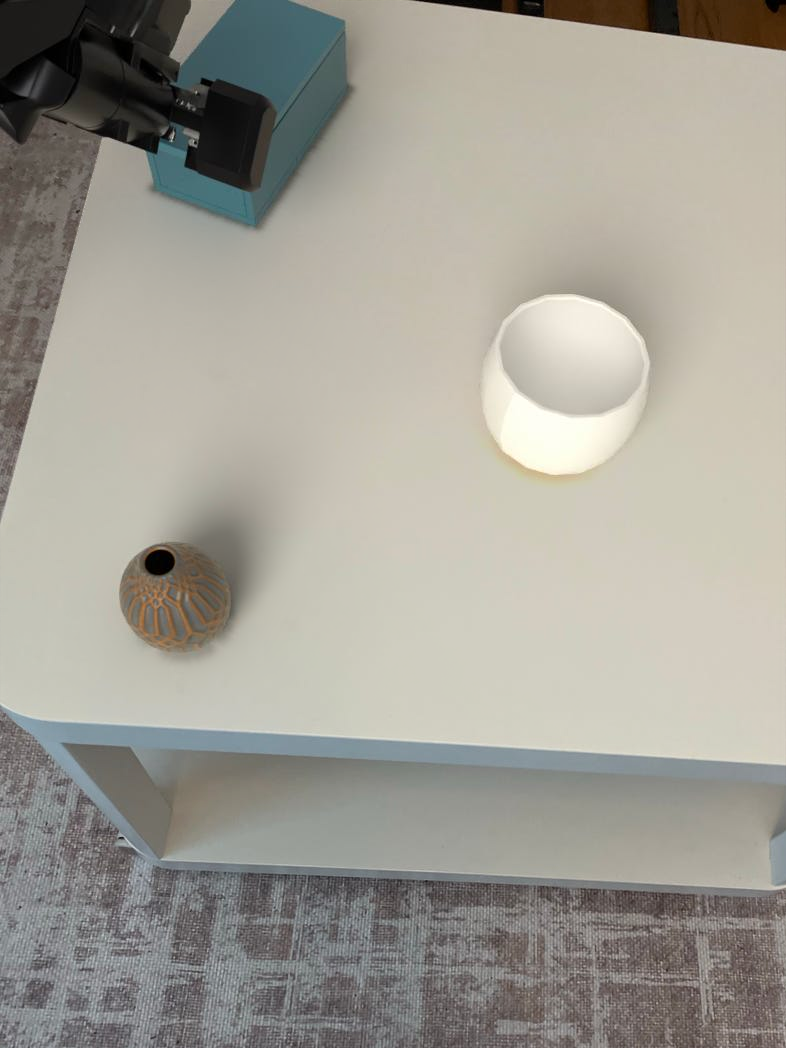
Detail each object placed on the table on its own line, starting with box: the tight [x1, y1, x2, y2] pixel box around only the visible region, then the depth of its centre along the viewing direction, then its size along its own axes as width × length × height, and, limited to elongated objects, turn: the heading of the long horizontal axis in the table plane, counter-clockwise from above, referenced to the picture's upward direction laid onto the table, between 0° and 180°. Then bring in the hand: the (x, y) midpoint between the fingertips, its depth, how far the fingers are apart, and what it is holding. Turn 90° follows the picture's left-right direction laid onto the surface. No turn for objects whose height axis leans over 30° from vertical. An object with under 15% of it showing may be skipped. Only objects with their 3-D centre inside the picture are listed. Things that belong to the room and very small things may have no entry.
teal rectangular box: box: [145, 30, 348, 227], centre depth 79 cm, size 19×9×6 cm, turn 159°
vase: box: [118, 541, 232, 654], centre depth 59 cm, size 7×7×9 cm
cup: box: [478, 293, 652, 476], centre depth 68 cm, size 12×12×10 cm
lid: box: [158, 0, 346, 159], centre depth 74 cm, size 21×9×4 cm, turn 159°
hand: (196, 127), depth 72 cm, fingers closed on lid, 5 cm apart
